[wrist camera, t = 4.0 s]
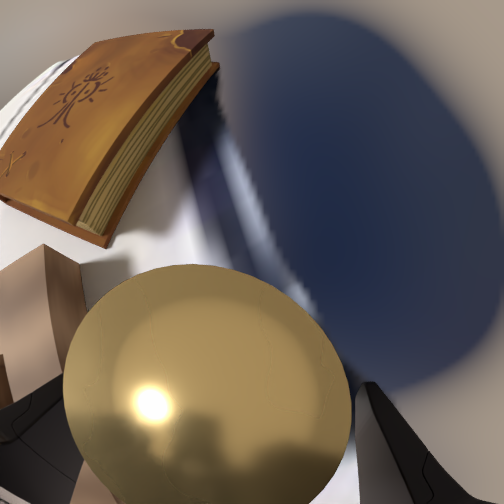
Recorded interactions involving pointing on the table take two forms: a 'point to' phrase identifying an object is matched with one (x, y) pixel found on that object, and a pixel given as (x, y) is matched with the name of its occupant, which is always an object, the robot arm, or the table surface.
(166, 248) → the table surface
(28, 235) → the table surface
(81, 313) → the socket block
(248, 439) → the pin
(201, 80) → the diary
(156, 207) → the table surface
